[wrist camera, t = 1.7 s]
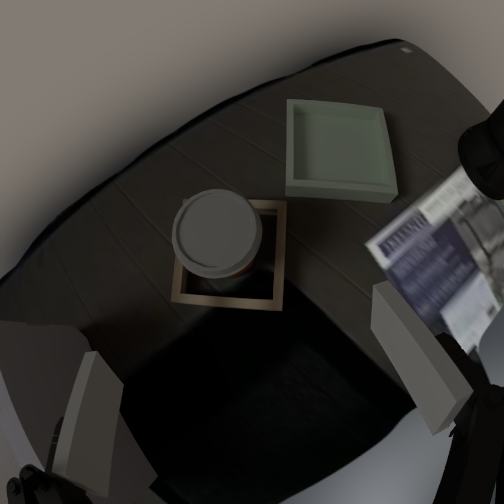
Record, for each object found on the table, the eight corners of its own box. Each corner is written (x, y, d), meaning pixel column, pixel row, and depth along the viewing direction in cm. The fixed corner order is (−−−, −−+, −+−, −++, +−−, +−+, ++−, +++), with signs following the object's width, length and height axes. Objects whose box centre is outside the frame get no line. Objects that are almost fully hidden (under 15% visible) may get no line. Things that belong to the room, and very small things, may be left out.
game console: (132, 481, 33) (67, 537, 14) (61, 338, 40) (-31, 335, 20) (159, 476, 33) (97, 542, 14) (83, 325, 40) (-13, 319, 20)
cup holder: (286, 207, 41) (286, 200, 39) (281, 310, 38) (282, 310, 35) (188, 205, 42) (183, 198, 40) (177, 302, 39) (170, 301, 37)
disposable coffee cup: (265, 290, 39) (259, 278, 27) (195, 287, 39) (163, 274, 28) (267, 222, 41) (263, 184, 29) (201, 222, 42) (174, 186, 30)
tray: (377, 120, 43) (382, 108, 40) (389, 203, 40) (398, 194, 36) (286, 112, 45) (286, 99, 42) (285, 196, 41) (285, 185, 38)
